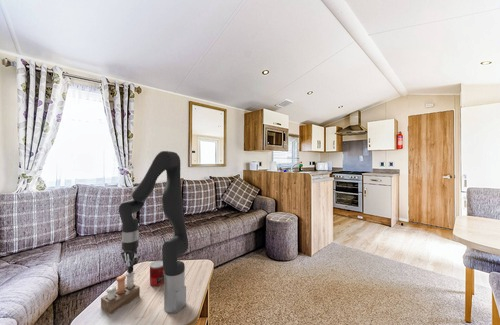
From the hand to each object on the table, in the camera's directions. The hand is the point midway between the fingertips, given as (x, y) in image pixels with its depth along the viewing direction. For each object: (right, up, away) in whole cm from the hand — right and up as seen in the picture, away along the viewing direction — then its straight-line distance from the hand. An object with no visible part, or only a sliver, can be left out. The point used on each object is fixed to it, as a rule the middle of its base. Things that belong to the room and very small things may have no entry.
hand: (130, 272), depth 104 cm
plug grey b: (0, -9, 0) cm, 9 cm away
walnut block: (-2, -13, -4) cm, 14 cm away
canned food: (+8, -13, +12) cm, 19 cm away
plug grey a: (-4, -12, -8) cm, 15 cm away
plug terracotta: (-2, -9, -4) cm, 10 cm away
